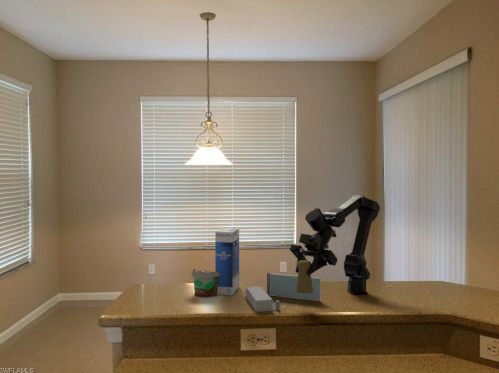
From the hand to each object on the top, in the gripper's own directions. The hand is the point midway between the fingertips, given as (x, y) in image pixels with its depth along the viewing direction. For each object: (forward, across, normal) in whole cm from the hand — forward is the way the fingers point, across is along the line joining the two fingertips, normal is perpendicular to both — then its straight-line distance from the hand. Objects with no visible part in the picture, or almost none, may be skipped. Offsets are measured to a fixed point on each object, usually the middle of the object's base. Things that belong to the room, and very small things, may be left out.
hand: (302, 273), depth 138 cm
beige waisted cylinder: (+4, 0, +6) cm, 7 cm away
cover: (+3, -11, +15) cm, 19 cm away
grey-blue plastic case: (+13, -15, +5) cm, 20 cm away
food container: (+21, -38, -3) cm, 44 cm away
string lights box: (+13, -37, +6) cm, 40 cm away
